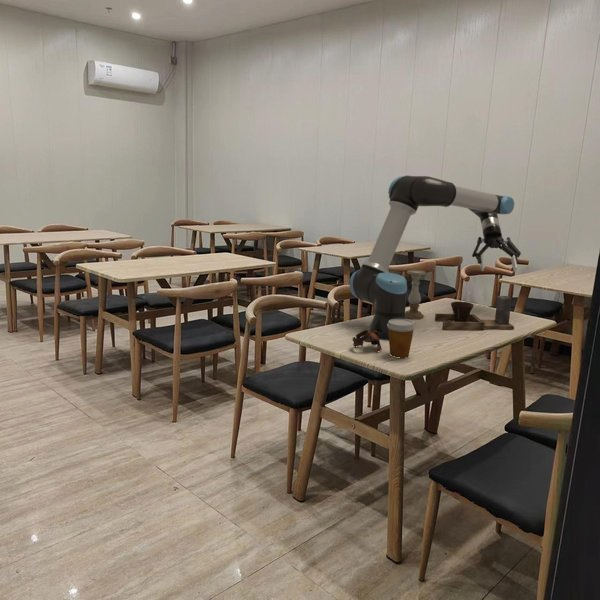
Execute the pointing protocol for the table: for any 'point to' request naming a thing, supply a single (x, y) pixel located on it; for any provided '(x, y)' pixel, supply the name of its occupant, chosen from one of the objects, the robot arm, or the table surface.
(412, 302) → the candle holder
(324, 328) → the table surface
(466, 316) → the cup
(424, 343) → the table surface
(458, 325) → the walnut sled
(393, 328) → the disposable coffee cup
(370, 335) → the dark brown arched piece
